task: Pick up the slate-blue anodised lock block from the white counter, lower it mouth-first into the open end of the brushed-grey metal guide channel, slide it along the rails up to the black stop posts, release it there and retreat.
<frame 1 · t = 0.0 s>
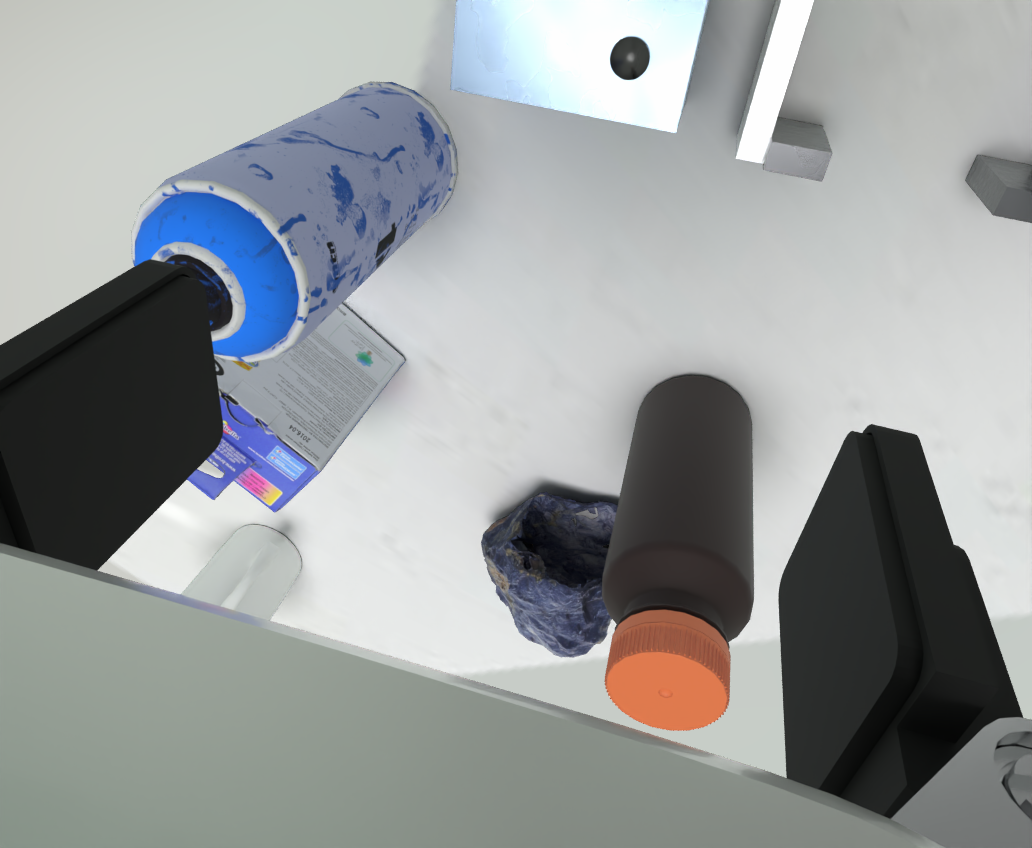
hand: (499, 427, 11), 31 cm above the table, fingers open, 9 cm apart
aerosol can: (391, 157, 42), on the table
rock: (566, 534, 54), on the table
mug: (276, 541, 62), on the table
bottle: (693, 419, 46), on the table
lock block: (593, 28, 36), on the table
ink cartridge box: (328, 330, 50), on the table
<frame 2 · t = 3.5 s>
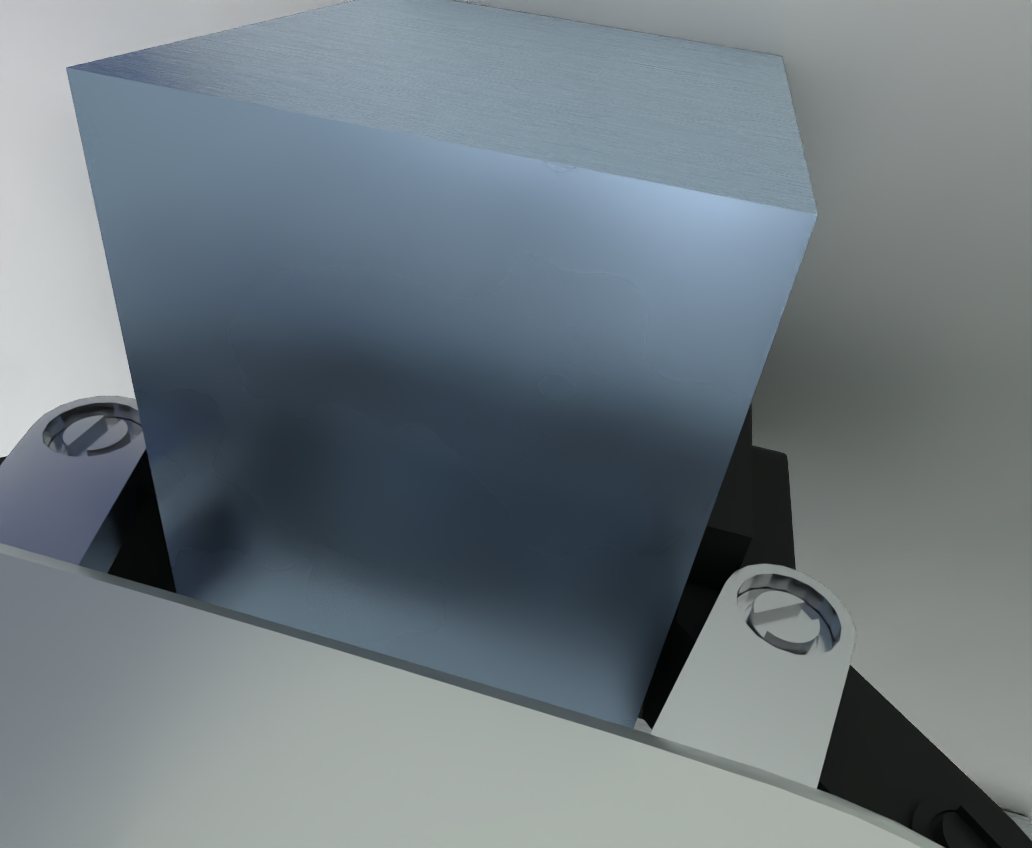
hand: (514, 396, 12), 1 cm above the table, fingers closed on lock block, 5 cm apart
lock block: (531, 360, 13), on the table, touching gripper
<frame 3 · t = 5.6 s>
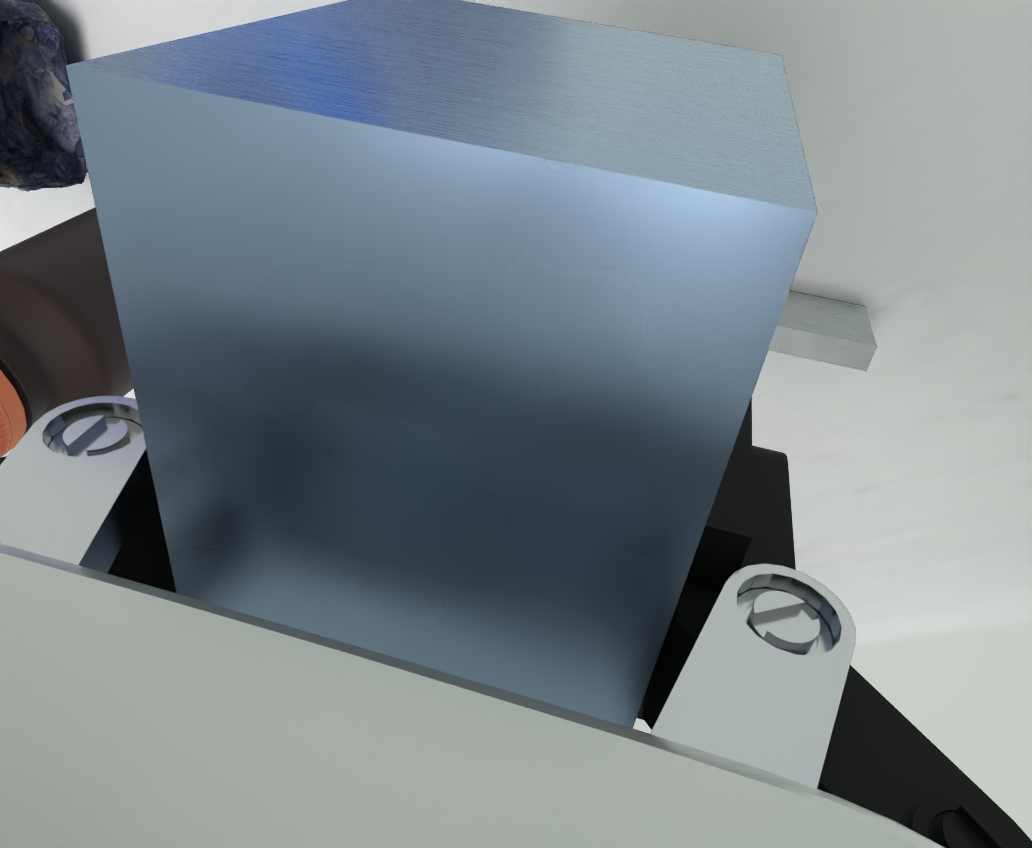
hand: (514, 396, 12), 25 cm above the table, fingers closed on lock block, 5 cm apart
rock: (13, 56, 39), on the table
bottle: (240, 217, 40), on the table
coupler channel: (666, 399, 40), on the table
lock block: (531, 359, 13), point 24 cm above the table, touching gripper
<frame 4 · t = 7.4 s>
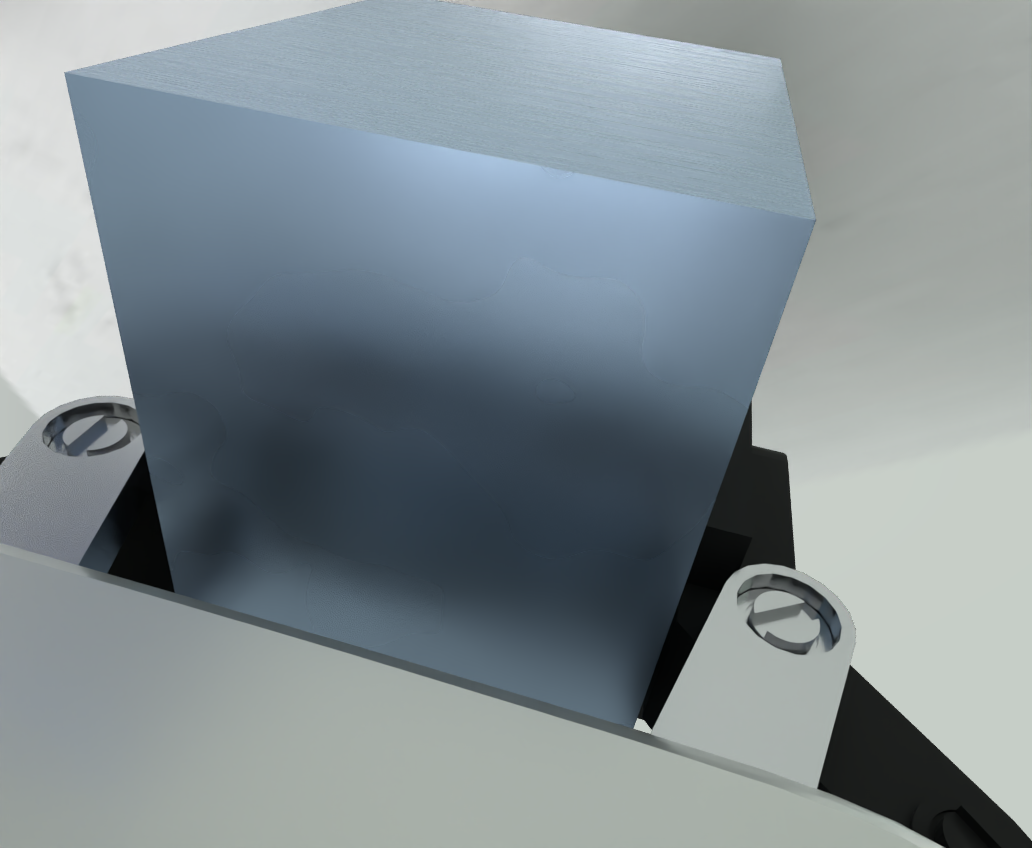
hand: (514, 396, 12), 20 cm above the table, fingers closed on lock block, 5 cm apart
lock block: (530, 362, 13), point 19 cm above the table, touching gripper
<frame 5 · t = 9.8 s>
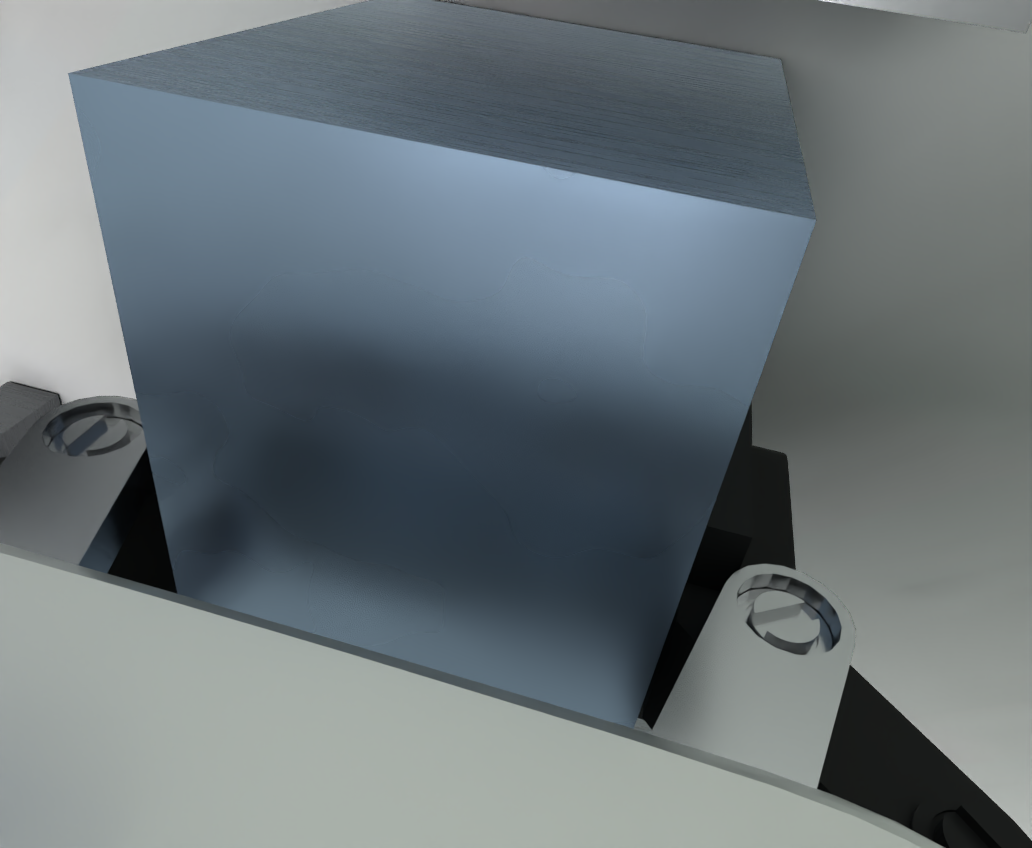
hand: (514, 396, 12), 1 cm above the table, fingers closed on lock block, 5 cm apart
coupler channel: (331, 311, 13), on the table
lock block: (531, 361, 13), on the table, touching gripper
when the fingers open (1 cm above the table, at t = 11.5 s): lock block stays where it is, on the table.
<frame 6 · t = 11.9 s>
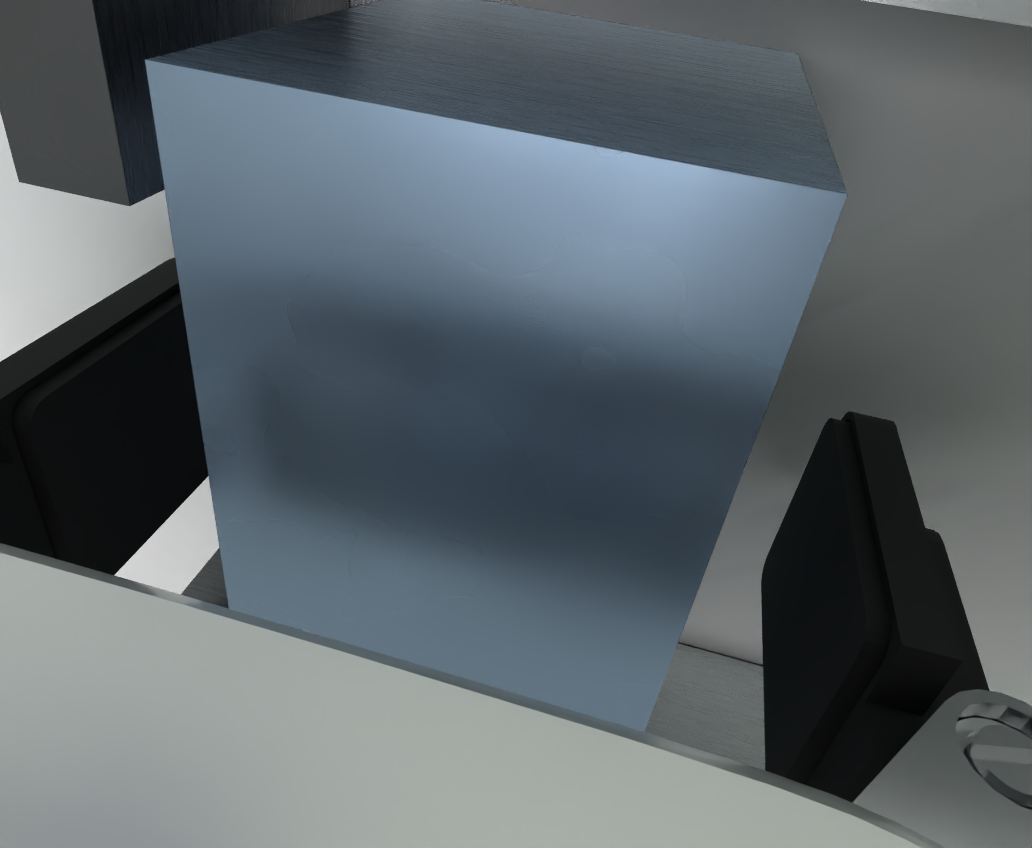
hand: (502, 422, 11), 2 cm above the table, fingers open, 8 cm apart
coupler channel: (712, 394, 12), on the table
lock block: (549, 347, 13), on the table
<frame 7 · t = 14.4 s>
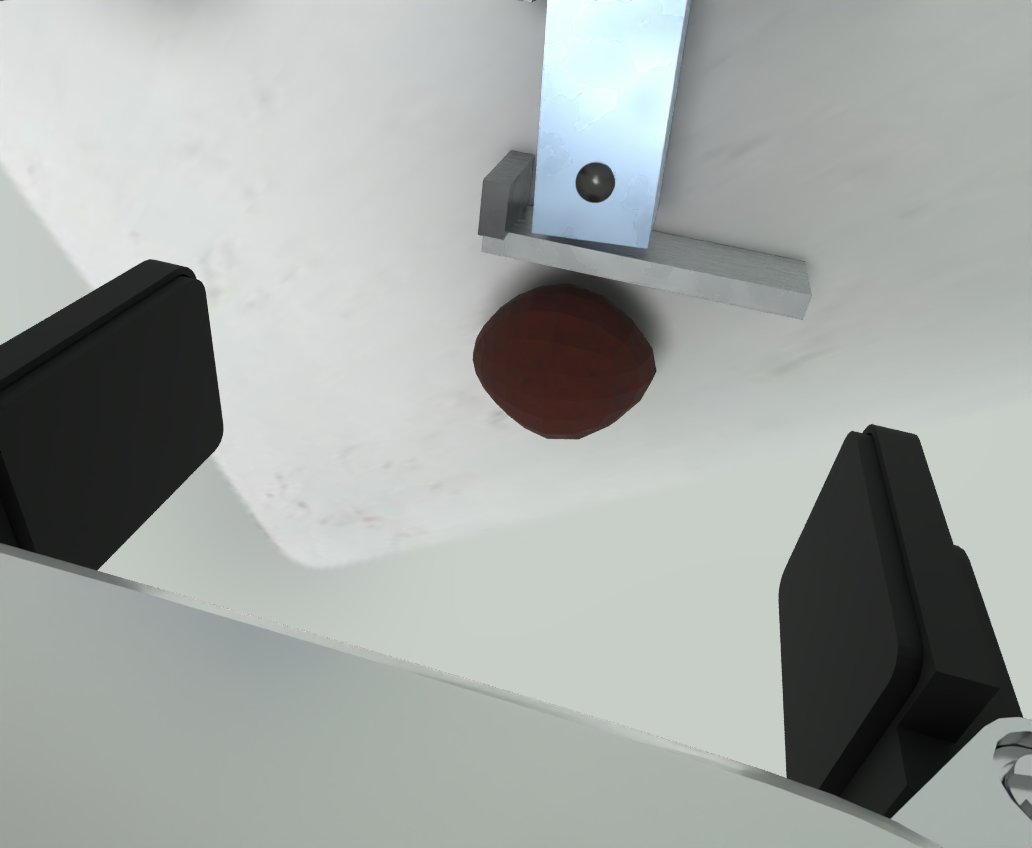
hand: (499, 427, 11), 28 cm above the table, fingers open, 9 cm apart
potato: (576, 328, 42), on the table
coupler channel: (681, 102, 34), on the table
lock block: (621, 89, 35), on the table
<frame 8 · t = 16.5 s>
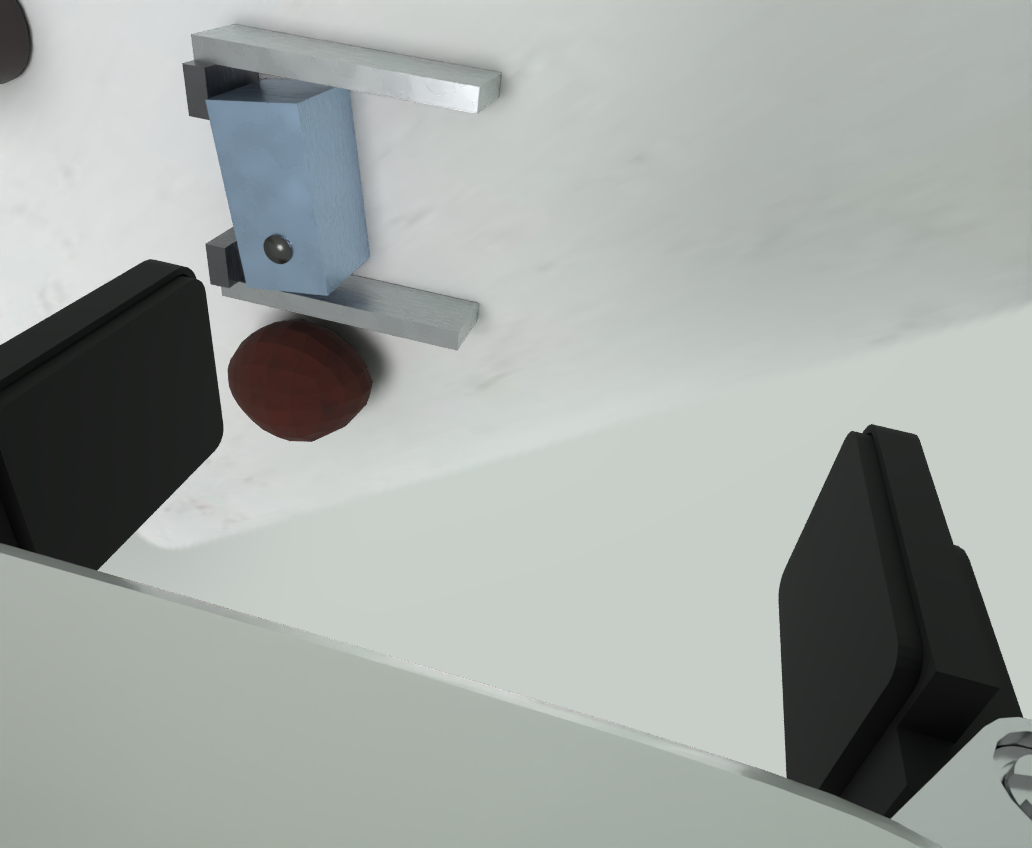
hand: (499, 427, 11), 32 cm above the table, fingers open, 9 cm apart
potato: (328, 352, 52), on the table
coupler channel: (364, 183, 44), on the table
lock block: (321, 171, 45), on the table
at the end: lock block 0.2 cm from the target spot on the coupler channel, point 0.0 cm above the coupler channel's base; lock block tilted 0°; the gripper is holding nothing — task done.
